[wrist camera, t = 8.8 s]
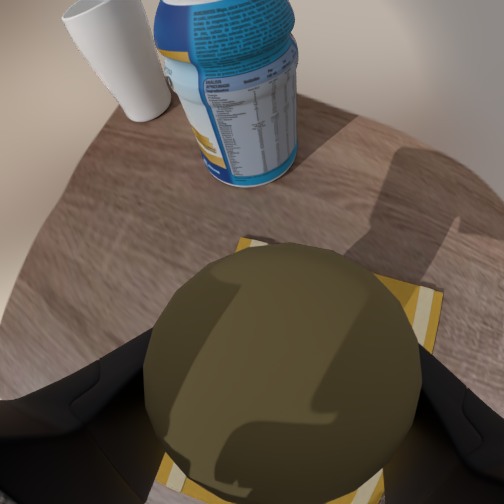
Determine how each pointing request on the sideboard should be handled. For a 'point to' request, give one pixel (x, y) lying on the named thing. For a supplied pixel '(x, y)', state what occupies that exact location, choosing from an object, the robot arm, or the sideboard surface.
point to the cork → (282, 376)
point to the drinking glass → (121, 53)
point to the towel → (369, 494)
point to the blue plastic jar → (234, 82)
